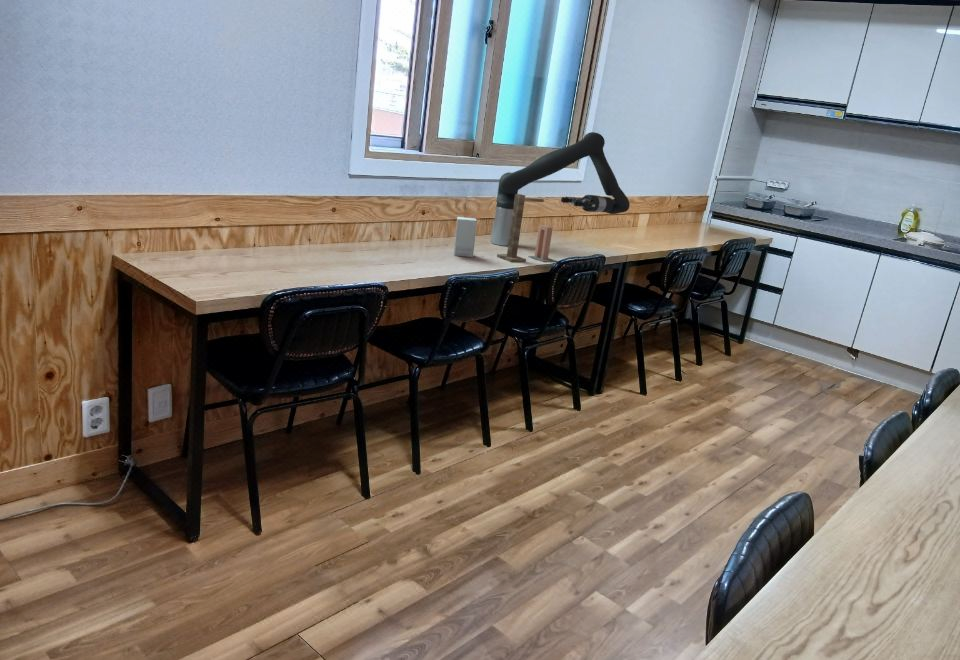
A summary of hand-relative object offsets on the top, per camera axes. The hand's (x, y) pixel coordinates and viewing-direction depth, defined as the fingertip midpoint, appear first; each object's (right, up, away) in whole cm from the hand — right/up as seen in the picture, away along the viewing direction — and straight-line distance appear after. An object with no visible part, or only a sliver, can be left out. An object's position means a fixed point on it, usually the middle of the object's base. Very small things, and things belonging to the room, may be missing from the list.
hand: (568, 201), depth 327 cm
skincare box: (-46, -25, -16) cm, 55 cm away
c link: (-12, -25, -1) cm, 28 cm away
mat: (-11, -26, -1) cm, 28 cm away
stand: (-22, -26, -8) cm, 35 cm away
